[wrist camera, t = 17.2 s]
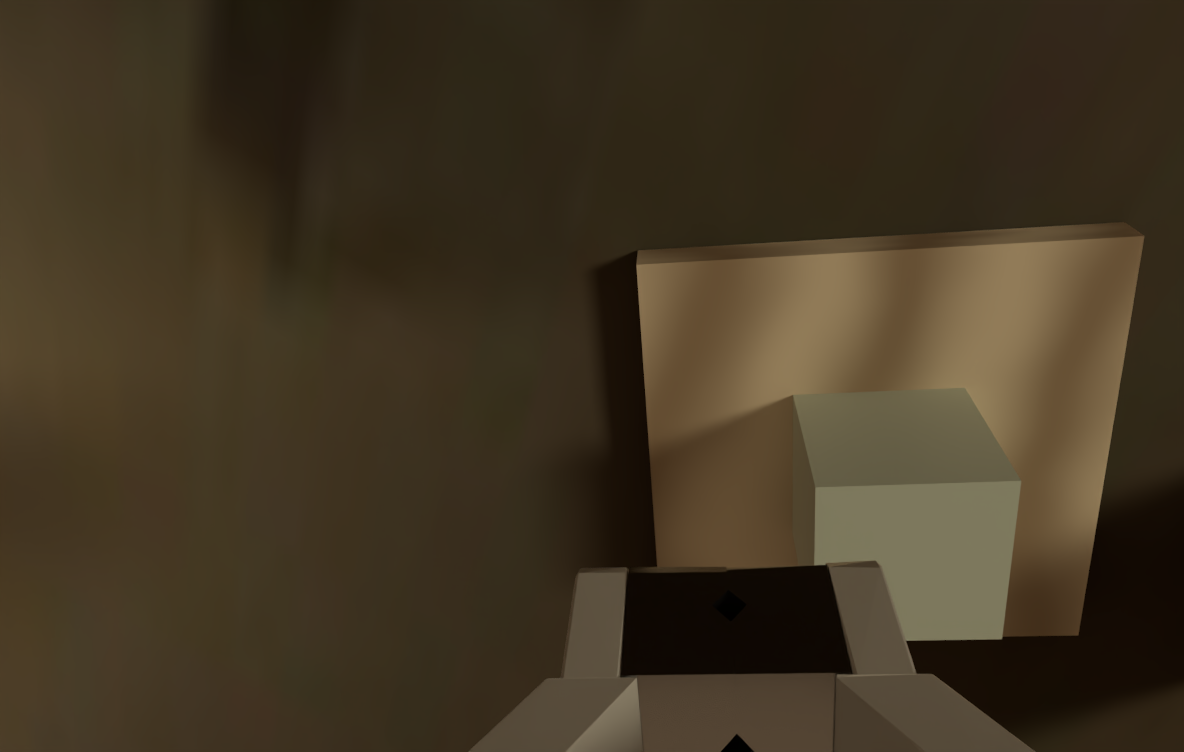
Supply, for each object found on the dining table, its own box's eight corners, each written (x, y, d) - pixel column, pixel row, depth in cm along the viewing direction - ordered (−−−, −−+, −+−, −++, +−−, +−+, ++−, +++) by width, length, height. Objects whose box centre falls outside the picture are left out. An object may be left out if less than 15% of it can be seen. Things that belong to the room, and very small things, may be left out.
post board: (1124, 222, 32) (1220, 288, 26) (1064, 609, 39) (1129, 728, 33) (637, 250, 33) (630, 318, 28) (662, 617, 40) (661, 731, 35)
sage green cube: (964, 387, 33) (1021, 480, 28) (952, 528, 36) (1001, 639, 30) (792, 394, 34) (815, 487, 28) (792, 532, 36) (813, 642, 31)
